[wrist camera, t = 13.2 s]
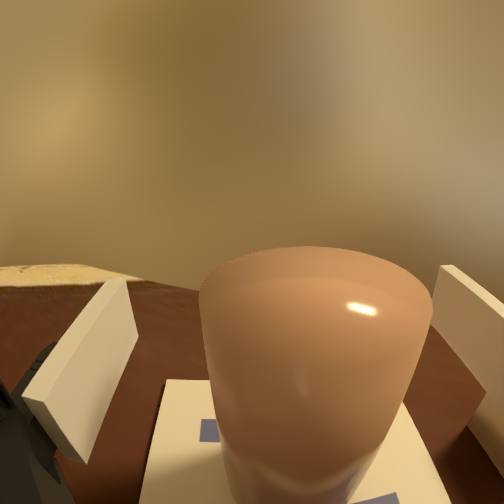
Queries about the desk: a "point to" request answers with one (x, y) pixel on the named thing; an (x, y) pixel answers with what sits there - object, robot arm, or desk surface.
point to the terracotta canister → (308, 367)
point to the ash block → (489, 431)
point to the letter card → (213, 468)
